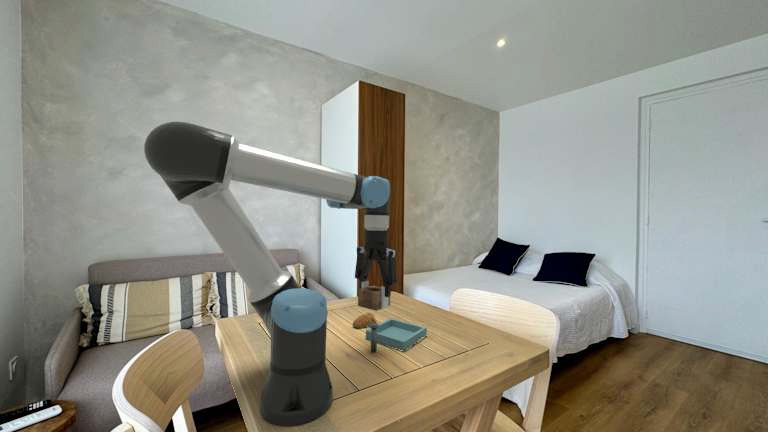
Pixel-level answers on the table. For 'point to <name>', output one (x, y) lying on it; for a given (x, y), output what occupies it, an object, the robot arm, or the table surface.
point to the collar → (370, 298)
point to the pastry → (364, 320)
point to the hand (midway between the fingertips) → (374, 304)
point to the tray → (398, 333)
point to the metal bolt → (374, 336)
